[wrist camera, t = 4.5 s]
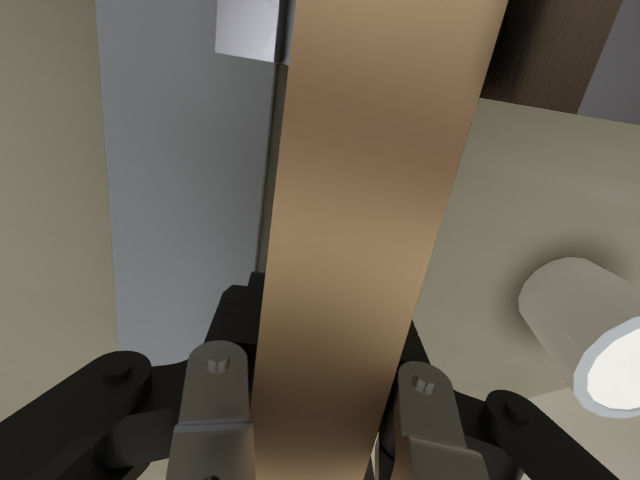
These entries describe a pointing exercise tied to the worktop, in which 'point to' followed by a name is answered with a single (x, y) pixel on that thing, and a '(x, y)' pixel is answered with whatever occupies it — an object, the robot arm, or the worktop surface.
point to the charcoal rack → (501, 54)
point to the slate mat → (179, 168)
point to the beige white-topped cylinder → (588, 332)
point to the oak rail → (357, 216)
